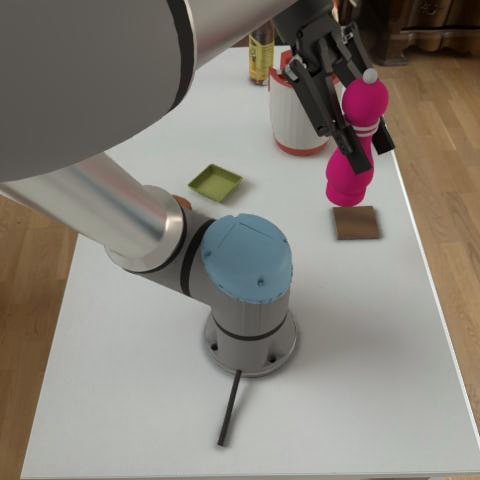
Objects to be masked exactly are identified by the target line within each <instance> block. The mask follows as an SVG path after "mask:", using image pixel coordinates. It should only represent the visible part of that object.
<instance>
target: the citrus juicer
mask: <svg viewBox="0 0 480 480" xmlns="http://www.w3.org/2000/svg"><path fill="white" fill-rule="evenodd" d="M291 59H292V55H291V49H290V48H289V49H287V50H284V51H281V53H280V62H279V69H276V68H274V67H273V68H272V67H269V77H268V78H267V79H266V80H264V81H263V84H262V85H261V86H267V91H268V92H269V100H268V101H269V104H268V108H269V122H270V128H271V130H272V135H273V138H274V140H275V143H276V145H277V146H278V148H279V149H281V150H282V151H283V152H285V153H287V154H289V155H294V156H299V157H301V156H304V157H305V156H311V155H314V154H317V153H319V152H320V151H322V150H323V149H324V148H325V147H326V145H327V144H328V142H329V141H330V139H331V136H329V137H325V136H322V137H319V136H318V135H317V133H316V132H315V130H314V128H313V126H312V124H311V122H310V120H309V118H308V116H307V114H306V112H305V110H304V108H303V106H302V104H301V102H300V100H299V98H298V97H297V95H296V93H295V91H294V89H293V87H292V85H291V84H290V83H289V82H288V81H287V80H286V79H285V78H284V77H283V75H282V72H281V71H282V69H283V68H284V67H285V66H286V65H288V64H289V62H290V61H291ZM332 79H333V83H334V86H335V90H336V93H337V96H338V100H339V103H340V104H341V102H342V96H343V89H344V86H343V84H342V83H341V82H340V80H339V79H338V78H337V76H336V75H335V74H334V73H332ZM333 122H335V121H334V120H333Z"/></svg>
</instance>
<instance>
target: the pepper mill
mask: <svg viewBox="0 0 480 480" xmlns="http://www.w3.org/2000/svg"><path fill="white" fill-rule="evenodd" d="M377 76H378V72H377V70H376V69H375V68H374V69H373V68H369V69H367V70H366V71H365V72H364V74H363V78H359V79H356V80H354V81H353V82H351V83H350V84H349V85H348V86H347V88H345V89H344V91H343V92H342V96H341V102H340V107H341V110H342V113H343V117H344V120H345V124H346V127H347V126H349V125H352V127H353V129H354V131H355V133H356V135H357V137H358V139H359V141H360V143H361V145H362V147H363V149H364V151H365V153H366V155H367V157H368V159H369V161H370V163H371V165H372V167H373V168H371V169H370V170H369V171H366V172H363V173H360V174H358V175H355V173H354V171H353V169H352V167H351V165H350V163H349V162H348V160H347V158H346V156H343V155H342V154H341V152H340V149H339V148H338V146H336V149H335V150H334V152H332V154H331V155H330V156H329V159H328V161H327V164H326V168H325V178H326V180H327V182H326V185H325V197H326V198H327V200H328V201H329V202H330V203H331V204H333V205H335V206H336V207H352V206H359V204H361V203H362V202H363V201H364V199H365V196H366V192H367V188H368V187H369V185H370V184H371V183H372V181H373V178H374V174H375V162H374V157H373V152H372V141H371V140H372V136H373V134H374V133H375V132H376V131H377V129H378V124H379V122H380V117H381V116H382V115H383V116H384V114H385V113H386V111H387V109H388V106H389V100H390V96H389V90H388V88H387V85H385V84H384V82H382V81H381V80H380V79H379V80H380V81H379V80H378V79H377Z"/></svg>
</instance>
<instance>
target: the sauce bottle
mask: <svg viewBox="0 0 480 480" xmlns="http://www.w3.org/2000/svg"><path fill="white" fill-rule="evenodd" d="M271 20H272V19H270V20H269V21H267V22H266V23H265V24H263V25H262V26H260V27H259V28H257V29H256V30H254V31H253V32H251V33H250V34H249V35H248V71H249V72H248V74H249V80H250V81H251V83H253V84H254V85H256V86H257V85H260V86H263V85H262V84H263V81H264V80H266V79H267V78H268V77H269V67H272V68H274V61H275V59H274V58H275V27H274V25H273V23H272V21H271Z"/></svg>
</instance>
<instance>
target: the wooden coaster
mask: <svg viewBox="0 0 480 480" xmlns="http://www.w3.org/2000/svg"><path fill="white" fill-rule="evenodd" d="M331 211H332V218H333V224H334V229H335V235H336V240H338V241H340V240H370V239H371V240H372V239H373V240H374V239H379V238H380V231H379V227H378V223H377V217H376V214H375V209H374V206H373V205H355V206H352V207H341V206H333V207H332V210H331Z"/></svg>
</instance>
